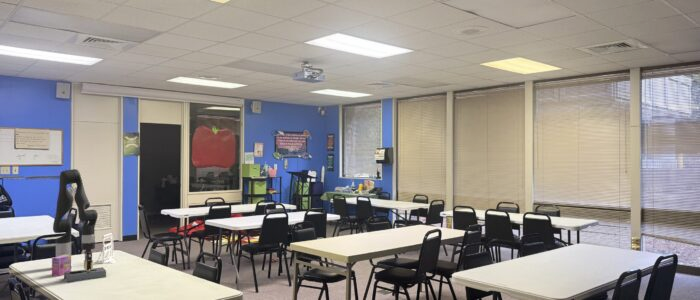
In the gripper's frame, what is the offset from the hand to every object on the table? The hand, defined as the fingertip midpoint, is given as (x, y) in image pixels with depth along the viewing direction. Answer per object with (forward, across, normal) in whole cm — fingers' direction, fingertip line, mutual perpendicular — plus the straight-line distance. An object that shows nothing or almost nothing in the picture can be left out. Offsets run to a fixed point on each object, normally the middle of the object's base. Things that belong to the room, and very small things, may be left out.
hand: (88, 268), depth 308 cm
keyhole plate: (+6, 0, -2) cm, 6 cm away
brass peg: (+5, 0, 0) cm, 5 cm away
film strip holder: (+6, -44, +19) cm, 48 cm away
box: (+6, -20, -13) cm, 25 cm away
